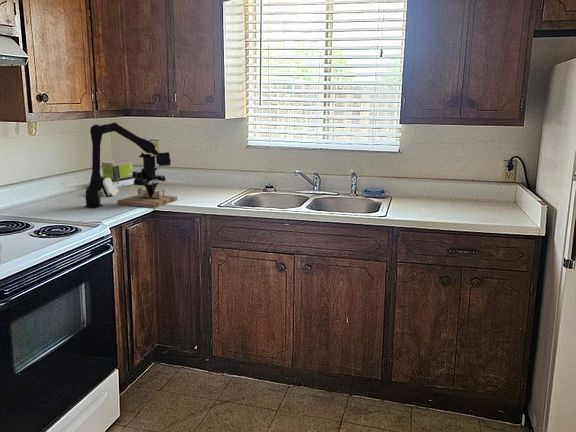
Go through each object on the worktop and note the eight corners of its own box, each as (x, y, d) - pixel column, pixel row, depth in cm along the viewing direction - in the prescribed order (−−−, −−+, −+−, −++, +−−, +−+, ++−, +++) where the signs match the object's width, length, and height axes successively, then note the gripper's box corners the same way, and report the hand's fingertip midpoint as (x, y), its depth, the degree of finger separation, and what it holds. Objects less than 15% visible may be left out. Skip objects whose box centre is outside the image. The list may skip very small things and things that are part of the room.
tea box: (124, 182, 331) (122, 158, 327) (135, 184, 325) (133, 160, 322) (103, 186, 319) (101, 161, 315) (114, 188, 313) (112, 163, 310)
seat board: (154, 208, 261) (153, 196, 260) (117, 204, 269) (116, 193, 268) (177, 200, 279) (176, 189, 278) (142, 197, 287) (141, 186, 286)
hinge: (113, 196, 289) (105, 179, 286) (105, 199, 289) (96, 182, 286) (119, 190, 305) (111, 174, 302) (111, 193, 305) (103, 177, 302)
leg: (137, 196, 277) (137, 188, 276) (141, 195, 280) (140, 187, 279) (159, 198, 273) (159, 190, 272) (162, 197, 275) (162, 189, 274)
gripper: (147, 163, 281) (149, 193, 284) (124, 167, 264) (125, 198, 267) (165, 164, 277) (166, 194, 280) (142, 168, 260) (144, 200, 263)
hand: (150, 197), depth 273 cm, fingers closed
